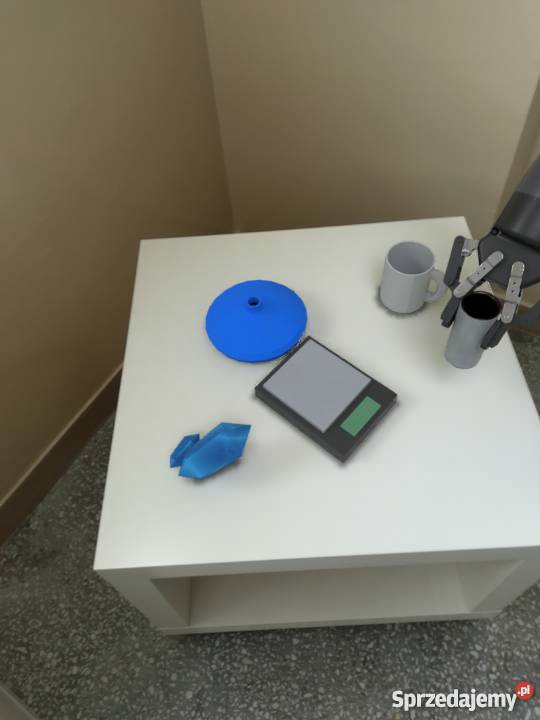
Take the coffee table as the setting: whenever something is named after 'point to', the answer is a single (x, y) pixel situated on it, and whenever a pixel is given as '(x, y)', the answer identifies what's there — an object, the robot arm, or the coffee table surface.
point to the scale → (326, 397)
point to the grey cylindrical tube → (471, 328)
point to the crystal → (210, 450)
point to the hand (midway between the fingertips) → (464, 336)
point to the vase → (256, 321)
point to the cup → (410, 277)
